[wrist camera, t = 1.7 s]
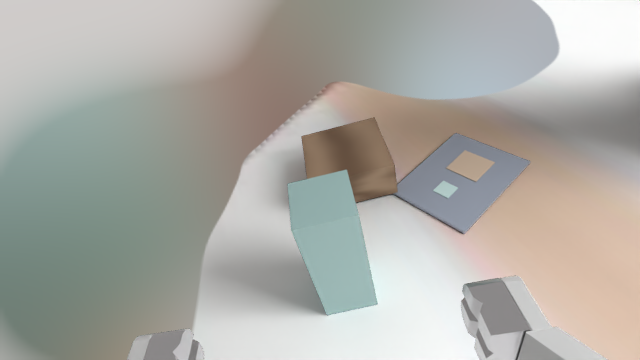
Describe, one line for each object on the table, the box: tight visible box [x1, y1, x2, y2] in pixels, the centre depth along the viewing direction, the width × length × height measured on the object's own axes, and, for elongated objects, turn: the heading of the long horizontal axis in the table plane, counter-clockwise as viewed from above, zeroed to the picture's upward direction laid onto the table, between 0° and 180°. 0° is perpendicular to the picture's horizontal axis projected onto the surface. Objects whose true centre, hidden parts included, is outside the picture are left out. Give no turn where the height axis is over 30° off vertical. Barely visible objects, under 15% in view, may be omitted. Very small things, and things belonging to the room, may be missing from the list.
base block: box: [301, 118, 398, 202], centre depth 43 cm, size 9×9×4 cm
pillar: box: [288, 170, 378, 315], centre depth 30 cm, size 4×4×12 cm
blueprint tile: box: [393, 133, 530, 234], centre depth 41 cm, size 12×9×1 cm
